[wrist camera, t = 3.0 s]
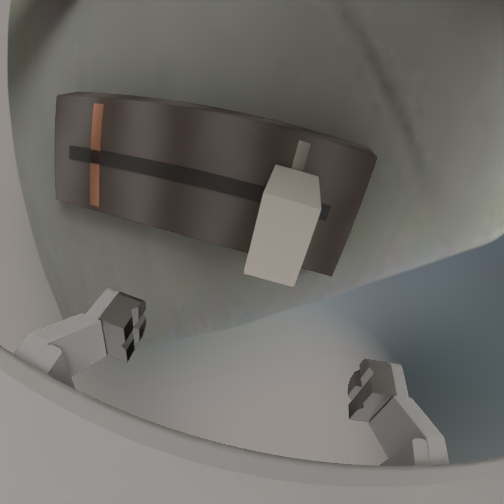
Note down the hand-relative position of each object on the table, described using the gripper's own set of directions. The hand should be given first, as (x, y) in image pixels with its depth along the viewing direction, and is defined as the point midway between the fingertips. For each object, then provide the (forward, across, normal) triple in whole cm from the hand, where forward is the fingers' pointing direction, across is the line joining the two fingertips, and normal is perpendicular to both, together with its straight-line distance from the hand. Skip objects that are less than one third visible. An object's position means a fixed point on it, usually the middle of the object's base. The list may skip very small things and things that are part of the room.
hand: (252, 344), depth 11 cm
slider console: (+17, +8, 0) cm, 18 cm away
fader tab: (+13, 0, 0) cm, 13 cm away
